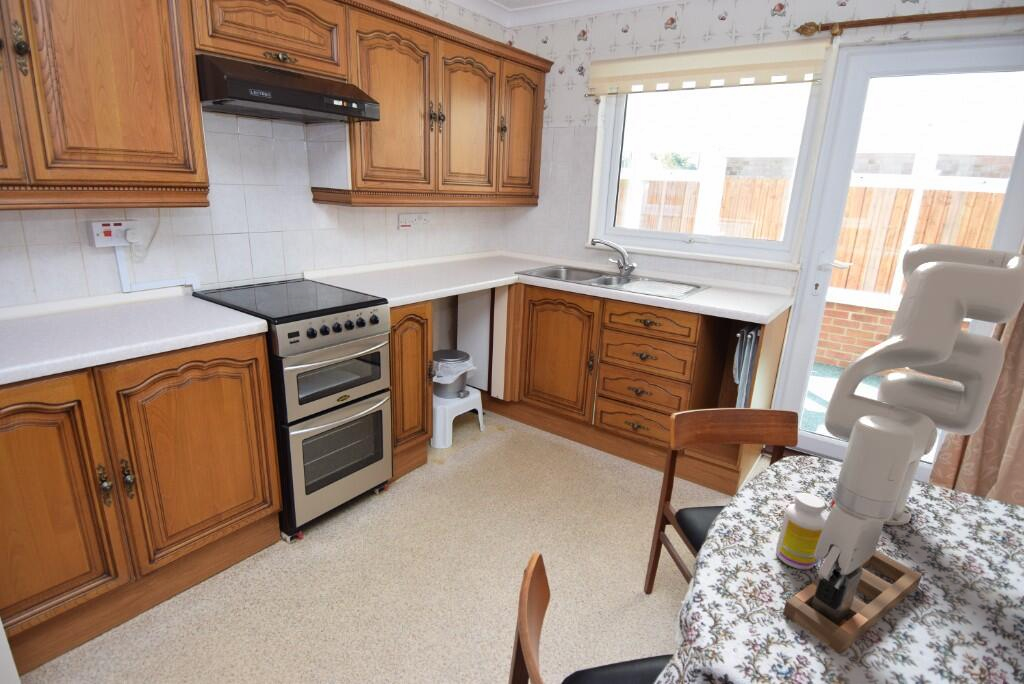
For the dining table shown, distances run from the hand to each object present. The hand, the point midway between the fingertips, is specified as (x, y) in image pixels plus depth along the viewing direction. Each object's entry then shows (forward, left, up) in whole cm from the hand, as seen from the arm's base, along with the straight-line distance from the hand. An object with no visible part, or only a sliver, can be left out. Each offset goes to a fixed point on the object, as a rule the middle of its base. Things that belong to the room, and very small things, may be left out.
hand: (834, 596), depth 85 cm
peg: (0, 0, -3) cm, 3 cm away
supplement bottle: (-10, -11, -5) cm, 16 cm away
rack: (-9, 0, -5) cm, 10 cm away
